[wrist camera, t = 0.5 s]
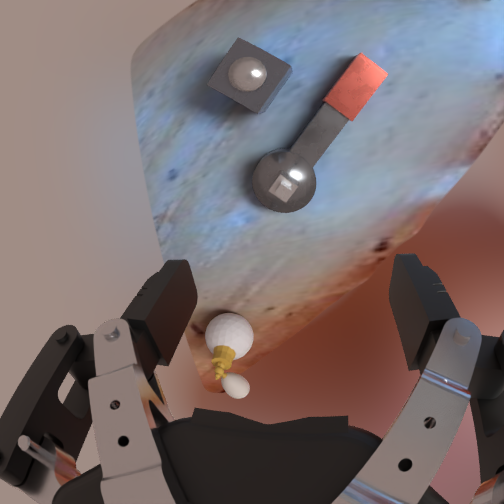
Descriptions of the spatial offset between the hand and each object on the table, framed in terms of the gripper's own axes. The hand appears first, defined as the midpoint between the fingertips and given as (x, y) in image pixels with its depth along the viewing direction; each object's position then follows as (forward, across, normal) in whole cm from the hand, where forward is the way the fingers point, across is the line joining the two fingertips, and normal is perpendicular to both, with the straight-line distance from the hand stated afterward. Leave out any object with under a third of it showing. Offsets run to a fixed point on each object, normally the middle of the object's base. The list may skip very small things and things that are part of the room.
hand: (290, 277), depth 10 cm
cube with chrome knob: (+24, +4, -9) cm, 26 cm away
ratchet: (+24, -3, -3) cm, 24 cm away
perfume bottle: (+23, +11, +26) cm, 37 cm away
